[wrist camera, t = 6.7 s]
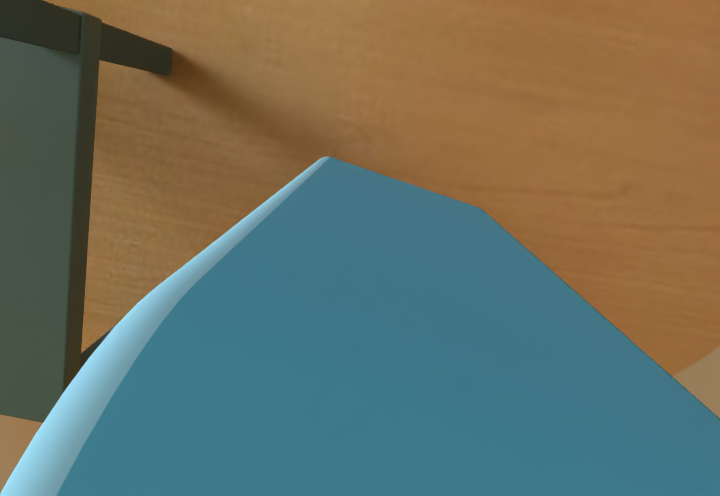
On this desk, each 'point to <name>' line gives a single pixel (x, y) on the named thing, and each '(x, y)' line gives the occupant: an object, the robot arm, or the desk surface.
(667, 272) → the desk surface
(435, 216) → the light blue rounded block
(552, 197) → the desk surface
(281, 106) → the desk surface
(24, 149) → the chair
